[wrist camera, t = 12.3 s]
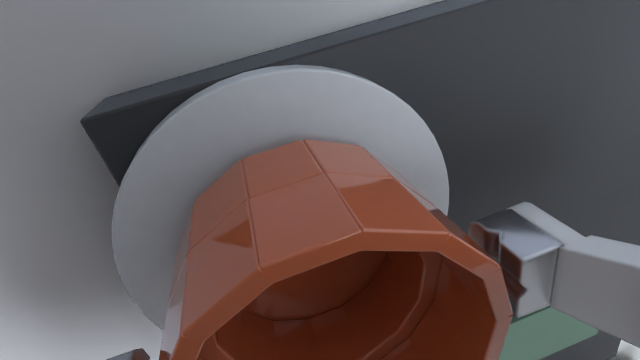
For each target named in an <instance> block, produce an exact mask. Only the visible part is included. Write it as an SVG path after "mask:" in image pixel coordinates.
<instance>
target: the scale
mask: <svg viewBox="0 0 640 360" xmlns="http://www.w3.org/2000/svg"><path fill="white" fill-rule="evenodd" d="M80 122H81V124H82V126H83V128H84V129H85V131H86V133H87V134H88V136H89V138H90V139H91V141H92V142H93V144H94V146H95V147H96V149H97V151H98V152H99V154H100V156H101V157H102V159H103V161H104V162H105V164H106V166H107V167H108V169H109V171H110V172H111V174H112V175H113V177H114V179H115V180H116V182H117V184H118V185H119V187H120V188H119V191H118V194H117V197H116V200H115V205H114V211H113V218H112V248H113V253H114V258H115V263H116V267H117V270H118V272H119V275H120V277H121V280H122V282H123V285H124V287H125V288H126V290H127V292H128V293H129V295H130V297H131V298H132V300H133V302H134V303H135V304H136V305H137V306H138V307H139V309H140V310H141V311H142V312H143V313H144V314H145V316H146V317H148V318H149V319H150V320H151V321H152V322H153V323H154V324H156V325H157V326H158V327H159V328H160V329H162V330H163V331H164V325H165V318H166V312H167V308H168V300H169V294H170V288H171V281H172V275H173V268H174V262H175V255H176V250H177V247H178V244H179V241H180V239H181V236H182V233H183V230H184V227H185V225H186V222H187V219H188V216H189V213H190V211H191V208H192V205H193V204H194V203H195V200H196V199H197V198H198V197H199V196H200V195H201V194H202V193H203V192H204V191H205V190H207V189H208V188H209V187H210V186H211V185H212V184H213V183H214V182H215V181H216V180H218V179H219V178H220V177H221V176H222V175H223V174H224V173H225V172H226V171H227V170H229V169H230V168H231V167H232V166H233V165H234V164H235V163H236V162H237V161H238V160H240V159H241V160H242V159H243V158H245V157H249V156H252V155H255V154H258V153H261V152H264V151H267V150H270V149H273V148H276V147H279V146H283V145H286V144H289V143H292V142H295V141H298V140H304V139H310V140H318V141H326V142H335V143H343V144H352V145H359V146H361V147H364V148H365V149H367V150H368V151H370V152H371V153H372V154H374V155H375V156H377V157H378V158H379V159H381V160H382V161H384V162H385V163H386V164H388V165H389V166H391V167H392V168H394V169H395V170H396V171H398V172H399V173H400V174H401V175H402V176H404V177H405V178H406V179H407V180H408V181H409V182H410V183H411V184H412V185H413V186H414V187H415V188H417V189H418V190H419V191H420V192H421V193H422V194H423V195H424V196H425V197H426V198H427V199H429V200H430V201H431V202H432V203H433V204H434V205H435V206H436V207H437V208H438V209H440V210H441V211H442V212H443V213H444V214H445V215H446V216H447V217H448V218H449V219H450V220H452V221H453V222H454V223H455V224H456V225H457V226H458V227H459V228H460V229H461V230H462V231H464V232H465V233H466V234H467V235H468V227H469V225H470V223H471V222H474V221H476V220H479V219H481V218H484V217H486V216H489V215H492V214H494V213H497V212H499V211H502V210H506V209H507V208H510V207H512V206H515V205H517V204H520V203H522V202H528V203H531V204H533V205H535V206H536V207H538V208H539V209H541V210H543V211H544V212H546V213H547V214H549V215H551V216H552V217H554V218H555V219H557V220H559V221H560V222H562V223H563V224H565V225H567V226H568V227H570V228H571V229H573V230H574V231H576V232H578V233H579V234H581V235H582V236H584V237H587V236H590V235H593V236H597V237H602V238H607V239H611V240H616V241H620V242H625V243H630V244H634V245H639V246H640V0H444V1H441V2H437V3H434V4H430V5H427V6H424V7H420V8H417V9H413V10H410V11H406V12H403V13H399V14H396V15H392V16H389V17H385V18H382V19H378V20H375V21H371V22H368V23H365V24H361V25H358V26H354V27H351V28H347V29H344V30H340V31H337V32H333V33H330V34H326V35H323V36H319V37H316V38H312V39H309V40H305V41H302V42H299V43H295V44H292V45H288V46H285V47H281V48H278V49H274V50H271V51H267V52H264V53H260V54H257V55H253V56H250V57H246V58H243V59H240V60H236V61H233V62H229V63H226V64H222V65H219V66H215V67H212V68H208V69H205V70H201V71H198V72H194V73H191V74H187V75H184V76H180V77H177V78H174V79H170V80H167V81H163V82H160V83H156V84H153V85H149V86H146V87H142V88H139V89H135V90H132V91H128V92H125V93H121V94H118V95H115V96H111V97H108V98H105V99H104V100H103V101H102V102H100V103H99V104H98V105H97V106H96V107H95V108H94V109H92V110H91V111H90V112H89V113H88V114H87V115H86V116H84V117H83V118H82V119H81V120H80ZM550 307H551V305H550V306H548V307H545V308H543V309H540V310H537V311H535V312H532V313H530V314H527V315H525V316H522V317H519V318H517V317H516V316H515V315H514V314H513V317H512V320H511V323H510V326H509V329H508V332H507V335H506V338H505V341H504V344H503V347H502V350H501V353H500V356H499V359H498V360H607V359H609V358H612V357H614V356H616V353H617V350H618V347H619V344H620V341H621V339H619V338H617V337H615V336H612V335H610V334H608V333H606V332H604V331H601V330H599V329H597V328H595V327H593V326H590V325H588V324H586V323H584V322H581V321H579V320H577V319H575V318H573V317H570V316H568V315H566V314H564V313H562V312H559V311H557V310H555V309H553V308H550Z"/></svg>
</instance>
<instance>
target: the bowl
mask: <svg viewBox="0 0 640 360" xmlns="http://www.w3.org/2000/svg"><path fill="white" fill-rule="evenodd" d="M512 317H513V311H512V307H511V303H510V299H509V296H508V292H507V288H506V284H505V281H504V277H503V273H502V269H501V266H500V265H499V264H498V263H497V262H496V261H495V260H494V259H493V258H492V257H491V256H490V255H489V254H487V253H486V252H485V251H484V250H483V249H482V248H481V247H480V246H479V245H478V244H477V243H475V242H474V241H473V240H472V239H471V238H470V237H469V236H468V235H467V234H466V233H465V232H464V231H462V230H461V229H460V228H459V227H458V226H457V225H456V224H455V223H454V222H453V221H452V220H450V219H449V218H448V217H447V216H446V215H445V214H444V213H443V212H442V211H441V210H440V209H438V208H437V207H436V206H435V205H434V204H433V203H432V202H431V201H430V200H429V199H427V198H426V197H425V196H424V195H423V194H422V193H421V192H420V191H419V190H418V189H417V188H415V187H414V186H413V185H412V184H411V183H410V182H409V181H408V180H407V179H406V178H405V177H404V176H402V175H401V174H400V173H399V172H398V171H396V170H395V169H394V168H392V167H391V166H389V165H388V164H386V163H385V162H384V161H382V160H381V159H379V158H378V157H377V156H375V155H374V154H372V153H371V152H370V151H368V150H367V149H365V148H364V147H361V146H359V145H352V144H343V143H335V142H326V141H318V140H310V139H304V140H298V141H295V142H292V143H289V144H286V145H283V146H279V147H276V148H273V149H270V150H267V151H264V152H261V153H258V154H255V155H252V156H249V157H245V158H243V159H242V160H241V159H240V160H238V161H237V162H236V163H235V164H234V165H233V166H232V167H231V168H230V169H229V170H227V171H226V172H225V173H224V174H223V175H222V176H221V177H220V178H219V179H218V180H216V181H215V182H214V183H213V184H212V185H211V186H210V187H209V188H208V189H207V190H205V191H204V192H203V193H202V194H201V195H200V196H199V197H198V198H197V199H196V200H195V203H194V204H193V205H192V208H191V211H190V213H189V216H188V219H187V222H186V225H185V227H184V230H183V233H182V236H181V239H180V241H179V244H178V247H177V250H176V255H175V262H174V268H173V275H172V281H171V288H170V294H169V300H168V308H167V312H166V318H165V325H164V331H163V338H162V344H161V350H160V357H159V360H498V359H499V356H500V353H501V350H502V347H503V344H504V341H505V338H506V335H507V332H508V329H509V326H510V323H511V320H512Z"/></svg>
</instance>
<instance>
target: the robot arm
mask: <svg viewBox="0 0 640 360" xmlns="http://www.w3.org/2000/svg"><path fill="white" fill-rule="evenodd" d="M468 236H469V237H470V238H471V239H472V240H473V241H474V242H475V243H477V244H478V245H479V246H480V247H481V248H482V249H483V250H484V251H485V252H486V253H487V254H489V255H490V256H491V257H492V258H493V259H494V260H495V261H496V262H497V263H498V264H499V265H500V266H501V269H502V273H503V277H504V281H505V284H506V288H507V292H508V296H509V299H510V303H511V307H512V311H513V314H514V315H515V316H516V317H517V318H519V317H522V316H525V315H527V314H530V313H532V312H535V311H537V310H540V309H543V308H545V307H548V306H550V305H551V307H550V308H553V309H555V310H557V311H559V312H562V313H564V314H566V315H568V316H570V317H573V318H575V319H577V320H579V321H581V322H584V323H586V324H588V325H590V326H593V327H595V328H597V329H599V330H601V331H604V332H606V333H608V334H610V335H612V336H615V337H617V338H619V339H621V340H624V341H626V342H628V343H630V344H632V345H635V346H637V347H639V348H640V246H639V245H634V244H630V243H625V242H620V241H616V240H611V239H607V238H602V237H597V236H593V235H590V236H587V237H584V236H582V235H581V234H579V233H578V232H576V231H574V230H573V229H571V228H570V227H568V226H567V225H565V224H563V223H562V222H560V221H559V220H557V219H555V218H554V217H552V216H551V215H549V214H547V213H546V212H544V211H543V210H541V209H539V208H538V207H536V206H535V205H533V204H531V203H528V202H522V203H520V204H517V205H515V206H512V207H510V208H507V209H506V210H502V211H499V212H497V213H494V214H492V215H489V216H486V217H484V218H481V219H479V220H476V221H474V222H471V223H470V225H469V227H468ZM149 359H150V357H149V355H148V354H147V353H146V352H145V351H144V350H143V349H135V350H132V351H129V352H127V353H124V354H121V355H118V356H115V357H112V358H109V359H107V360H149Z"/></svg>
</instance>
